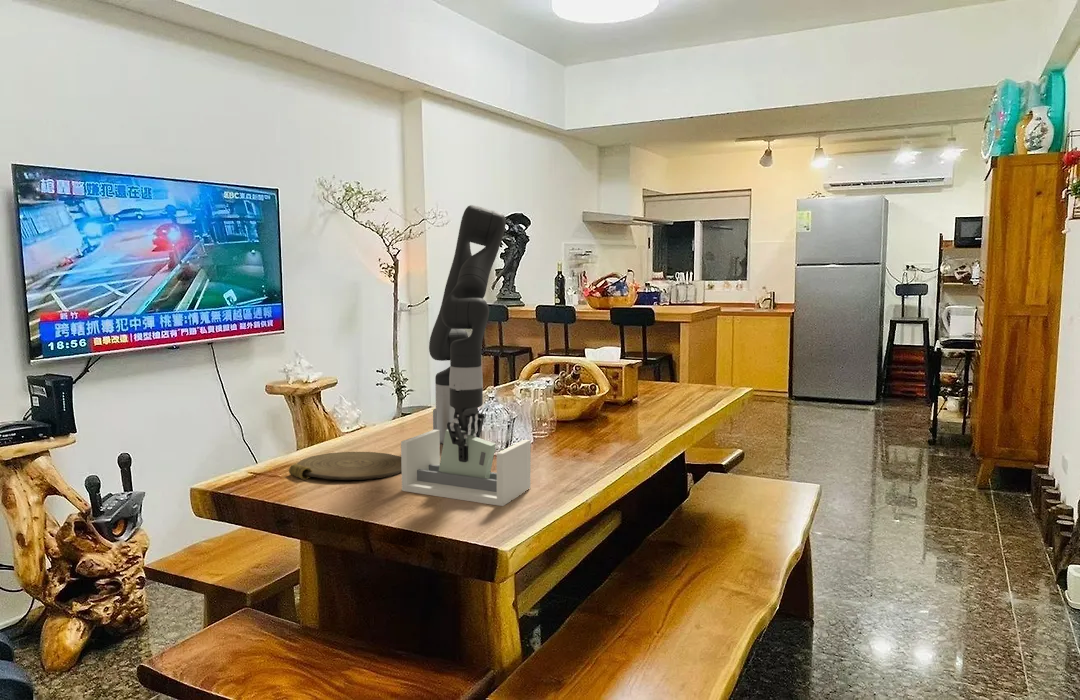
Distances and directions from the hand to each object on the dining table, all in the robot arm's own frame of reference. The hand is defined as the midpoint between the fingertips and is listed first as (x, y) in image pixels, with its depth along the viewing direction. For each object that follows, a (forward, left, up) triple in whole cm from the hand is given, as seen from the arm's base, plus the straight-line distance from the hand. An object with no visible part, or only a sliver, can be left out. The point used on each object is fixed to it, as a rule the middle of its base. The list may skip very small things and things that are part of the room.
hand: (466, 459), depth 171 cm
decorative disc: (-36, +4, -8) cm, 37 cm away
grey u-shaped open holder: (0, 0, -7) cm, 7 cm away
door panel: (-1, 0, -4) cm, 4 cm away
